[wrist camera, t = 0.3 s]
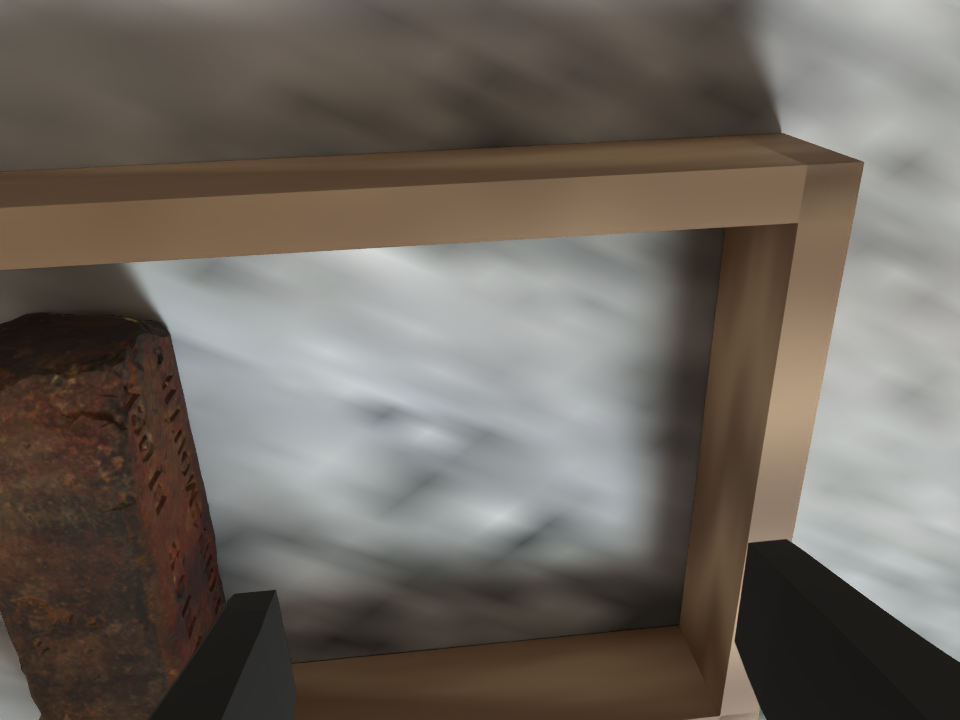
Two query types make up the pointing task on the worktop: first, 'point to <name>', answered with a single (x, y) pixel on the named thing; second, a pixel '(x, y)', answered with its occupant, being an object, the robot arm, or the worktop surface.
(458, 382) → the worktop surface
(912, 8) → the worktop surface
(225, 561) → the worktop surface
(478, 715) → the wooden frame
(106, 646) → the brick
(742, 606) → the robot arm
